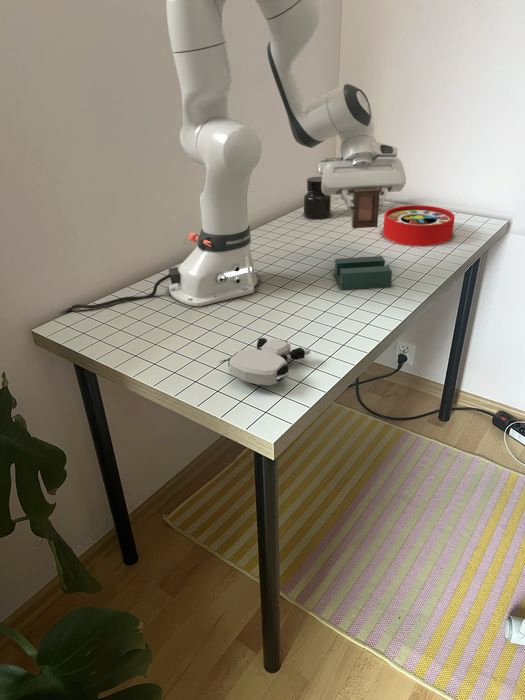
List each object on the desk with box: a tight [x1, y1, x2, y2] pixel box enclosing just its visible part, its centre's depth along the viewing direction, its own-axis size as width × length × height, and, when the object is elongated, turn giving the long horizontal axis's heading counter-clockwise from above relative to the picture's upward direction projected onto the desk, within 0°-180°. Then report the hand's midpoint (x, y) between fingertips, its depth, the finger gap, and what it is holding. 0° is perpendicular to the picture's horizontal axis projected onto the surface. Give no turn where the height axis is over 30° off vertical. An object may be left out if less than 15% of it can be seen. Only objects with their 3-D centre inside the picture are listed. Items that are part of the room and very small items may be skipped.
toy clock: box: [382, 204, 455, 247], centre depth 164 cm, size 20×6×20 cm
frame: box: [350, 188, 381, 229], centre depth 133 cm, size 2×6×9 cm, turn 93°
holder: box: [334, 255, 393, 291], centre depth 137 cm, size 10×12×4 cm
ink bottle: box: [303, 176, 332, 220], centre depth 182 cm, size 10×9×12 cm
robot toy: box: [218, 337, 311, 386], centre depth 103 cm, size 12×4×15 cm
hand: (366, 207), depth 132 cm, fingers closed on frame, 6 cm apart
